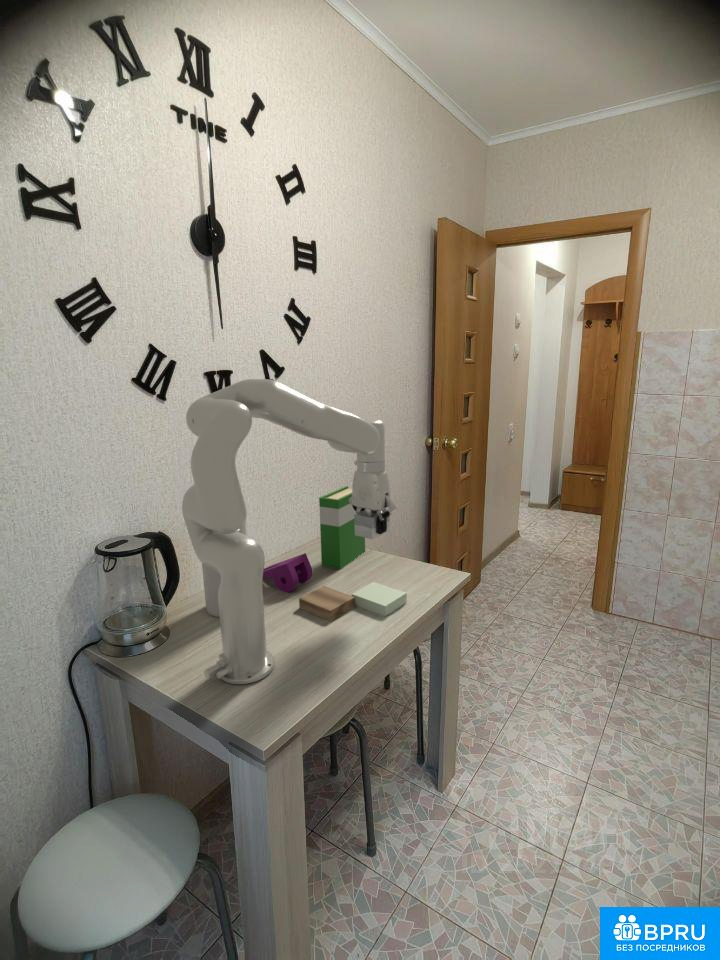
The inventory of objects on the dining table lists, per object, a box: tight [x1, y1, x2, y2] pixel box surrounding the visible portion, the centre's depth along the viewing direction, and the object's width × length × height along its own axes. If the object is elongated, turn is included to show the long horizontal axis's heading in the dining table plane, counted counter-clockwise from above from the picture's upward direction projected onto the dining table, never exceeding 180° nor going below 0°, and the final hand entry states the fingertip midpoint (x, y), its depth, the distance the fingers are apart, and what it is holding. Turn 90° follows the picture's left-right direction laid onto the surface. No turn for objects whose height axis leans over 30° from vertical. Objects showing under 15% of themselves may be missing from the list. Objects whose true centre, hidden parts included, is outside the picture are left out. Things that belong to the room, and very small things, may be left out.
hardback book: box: [318, 485, 366, 570], centre depth 170 cm, size 18×7×24 cm, turn 151°
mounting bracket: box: [263, 553, 313, 593], centre depth 154 cm, size 9×8×18 cm
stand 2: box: [351, 581, 407, 617], centre depth 140 cm, size 10×12×3 cm
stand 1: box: [298, 585, 356, 622], centre depth 138 cm, size 10×12×3 cm
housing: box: [354, 509, 391, 540], centre depth 134 cm, size 8×6×7 cm
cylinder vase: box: [201, 520, 248, 618], centre depth 136 cm, size 12×12×25 cm
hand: (372, 529), depth 135 cm, fingers closed on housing, 6 cm apart
